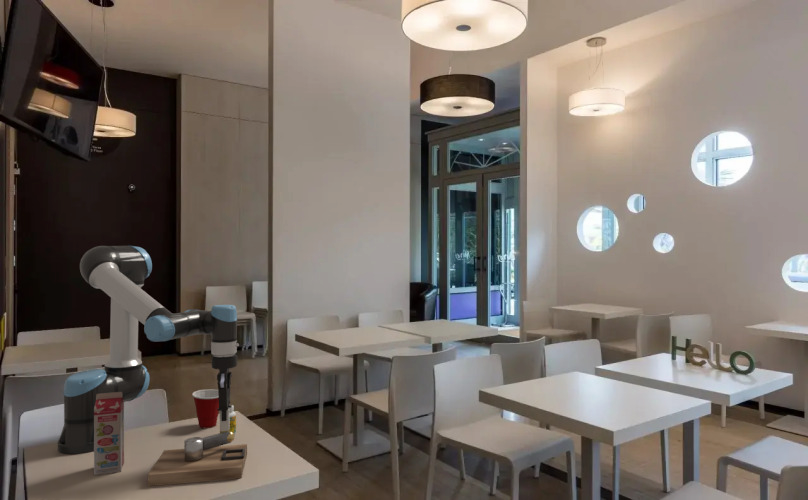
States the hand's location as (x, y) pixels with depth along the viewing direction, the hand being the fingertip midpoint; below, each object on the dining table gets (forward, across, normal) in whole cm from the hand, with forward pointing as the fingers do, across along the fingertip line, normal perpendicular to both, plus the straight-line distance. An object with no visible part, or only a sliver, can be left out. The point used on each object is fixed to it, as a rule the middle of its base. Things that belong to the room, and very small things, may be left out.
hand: (224, 430), depth 165 cm
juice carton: (+7, -6, +31) cm, 32 cm away
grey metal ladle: (+4, -9, +3) cm, 10 cm away
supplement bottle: (+7, +17, +1) cm, 18 cm away
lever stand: (+7, -12, +5) cm, 14 cm away
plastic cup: (+7, +28, +9) cm, 30 cm away
